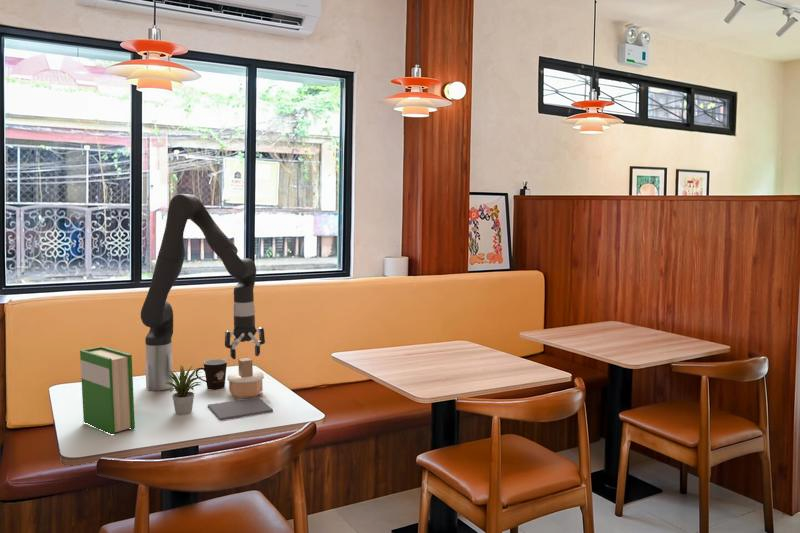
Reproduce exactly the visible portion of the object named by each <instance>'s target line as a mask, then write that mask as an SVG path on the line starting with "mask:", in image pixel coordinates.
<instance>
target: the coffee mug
mask: <svg viewBox="0 0 800 533" xmlns="http://www.w3.org/2000/svg"><path fill="white" fill-rule="evenodd" d="M227 364H228V360H226V359H223V358H213V359H208V360H207V359H206V360H204V362H203V367H198V368H199V369H198V370H196V369H195V370H196V372H195V374H196V373H199V371H200V370H202V371H203V372H204V376H206V377H205V379H203V378H202V377H201V378H199V379H198V380H200V381H201V382H205V384H206V387H207V388H206V389H207V390H210V391H216V390H217V391H219V390H222V389H225V386H226V378H227V376H226V375H227ZM196 375H197V376H196V377H200V375H198V374H196Z"/></svg>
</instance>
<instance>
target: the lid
mask: <svg viewBox="0 0 800 533" xmlns="http://www.w3.org/2000/svg"><path fill="white" fill-rule="evenodd" d="M253 368H254V367H253V359H251V358H250V357H244V358H238V371H235V372H232V373H229V374H227V376H226V378H227V381H228V382H229V381H230V382H233V383H251V382H256V381H260V380H262V381H263V380H264V379H265V378H264V377H265V374H264V372H261V371H258V370H253Z"/></svg>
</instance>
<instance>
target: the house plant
mask: <svg viewBox="0 0 800 533" xmlns="http://www.w3.org/2000/svg"><path fill="white" fill-rule="evenodd" d="M179 367H180V369H179V371H180V372H179V374H176V373H175V372H174V371H173V370H172V371H170V372H171V373H172V376H171V374H170V375H166V376H168V377H169V376H170V377H171V378H172V379H173V380H172V379H171V378H170V377H169V378H170V379H171V380H172V381H173V383H171V382H167V383H165V384H169V385H172V386H173V387H170V389H168V391H169V393H171V392H173V391H175V393H173V394H172V396H171V397H172V402H173V405H174V411H175V414H176V415H178V416H185V415H190V414H191V413H192V412H193V408H194V407H193V405H194V398H195V392H194V387H197V386H201V387H203V382H201V381H200V382H199V381H196V380H200V379H199V378H201V379H202V378H206V376H205V375H204V376H201V374H200V373H202V371H200V372H199V371H198V372H197V373H196V370H198V369H199V368H200V367H197V368H195V369H194V370H193V371H192V372H191V373H190V371H191V370H192V368H193V365H191V366H190V367H189V368H188V370H187V372H186V371H185V369H184V365H180V366H179ZM189 373H190V374H189ZM168 374H169V373H168ZM196 374H197V375H198V376H199V377H197V375H196ZM192 382H193V383H192Z"/></svg>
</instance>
